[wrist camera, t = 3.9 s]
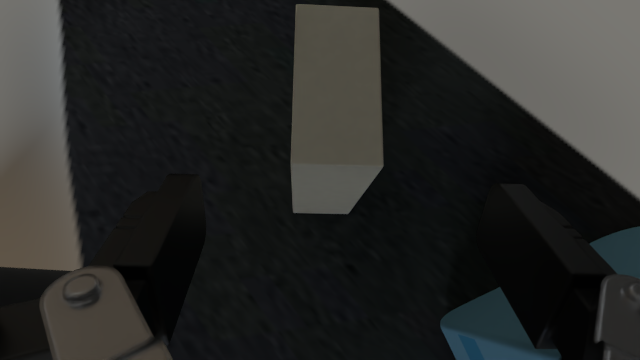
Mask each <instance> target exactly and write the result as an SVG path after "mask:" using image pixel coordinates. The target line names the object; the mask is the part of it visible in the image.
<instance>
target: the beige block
mask: <svg viewBox="0 0 640 360" xmlns="http://www.w3.org/2000/svg"><path fill="white" fill-rule="evenodd" d="M383 166H384V164H383V130H382V96H381V62H380V29H379V9H378V8H366V7H346V6H326V5H306V4H297V5H296V16H295V47H294V78H293V109H292V140H291V180H292V202H293V213H321V214H348V213H349V212H350V211H351V209H352V208H353V207H354V205H355V204H356V203H357V201H358V200H359V199H360V197H361V196H362V195H363V193H364V192H365V191H366V189H367V188H368V187H369V185H370V184H371V183H372V181H373V180H374V178H375V177H376V176H377V174H378V173H379V172H380V170H381V169H382V168H383Z"/></svg>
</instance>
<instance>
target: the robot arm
mask: <svg viewBox="0 0 640 360" xmlns="http://www.w3.org/2000/svg"><path fill="white" fill-rule="evenodd" d="M205 235H206V220H205V211H204V203H203V195H202V186H201V180H200V177H199V175H197V174H169V175H168V176H167V177H166V179H165V180H164V182H163V184H162V185H161V187H160V189H159V190H158V192H146V193H145V194H144V195H142V196H141V197H139V198H138V199H136V200H135V201H133V202H132V203H131V205H130V206H129V208H128V209H127V211H126V212H125V214H124V215H123V218H121V219H120V221H119V222H118V224H117V225H116V229H114V230H113V231H112V232H111V234H110V235H109V237H108V238H107V240H106V241H105V243H104V244H103V246H102V247H101V249H100V250H99V251H98V253H97V254H96V256H95V257H94V259H93V260H92V262H91V263H90V265H89V266H88V267H84V268H80V269H77V270H74V271H72V272H69V273H67V274H65V275H63V276H62V277H60V278H59V279H57V280H56V281H54V282H53V283H52V284H51V285H50V286H49V287H48V288H47V289H46V290H45V291H44V293H43V294H42V296H41V298H39V299H35V300H30V301H25V302H21V303H16V304H11V305H7V306H2V307H0V360H173V359H172V357H171V355H170V353H169V351H168V349H167V348H166V346H165V345H169V343H170V340H171V337H172V334H173V331H174V329H175V326H176V323H177V320H178V317H179V314H180V311H181V308H182V306H183V303H184V300H185V297H186V294H187V291H188V288H189V285H190V283H191V280H192V277H193V274H194V271H195V268H196V265H197V262H198V260H199V257H200V254H201V251H202V248H203V245H204V241H205ZM477 245H478V248H479V251H480V253H481V254H482V256H483V258H484V260H485V261H486V263H487V265H488V267H489V268H490V270H491V272H492V274H493V275H494V277H495V279H496V281H497V282H498V284H499V286H500V288H501V290H502V291H503V293H504V295H505V297H506V298H507V300H508V302H509V304H510V305H511V307H512V309H513V311H514V312H515V314H516V316H517V318H518V319H519V321H520V323H521V325H522V326H523V328H524V330H525V332H526V333H527V335H528V337H529V339H530V340H531V342H532V344H533V346H534V348H535V349H558V351H559V353H560V354H561V356H560V358H559V360H640V279H639V278H636V277H633V276H629V275H622V274H617V273H616V272H615V270H614V269H613V268H612V267H611V266H610V265H609V264H608V263H607V262H606V261H605V260H604V259H603V258H602V257H601V256H600V255H599V254H598V253H597V252H596V251H595V249H594V248H593V247H592V246H591V245H590V244H589V243H588V242H587V241H586V240H583V239H582V236H581V235H580V234H579V233H578V232H577V231H576V230H575V229H572V225H571V224H570V223H569V222H568V221H567V220H566V219H565V218H564V217H563V216H562V215H561V214H560V213H559V212H557V211H555V210H554V209H552V208H551V207H549V206H547V205H546V204H544V203H543V202H540V201H539V200H538V198H537V197H536V196H535V195H534V194H533V193H532V192H531V191H530V190H529V189H528V188H527V187H526V186H525V185H523V184H494V185H492V187H491V188H490V190H489V193H488V196H487V199H486V203H485V206H484V209H483V212H482V216H481V219H480V222H479V225H478V229H477Z"/></svg>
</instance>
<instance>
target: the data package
mask: <svg viewBox="0 0 640 360" xmlns="http://www.w3.org/2000/svg"><path fill="white" fill-rule="evenodd" d="M589 244H590V245H591V246H592V247H593V248H594V249H595V251H596V252H597V253H598V254H599V255H600V256H601V257H602V258H603V259H604V260H605V261H606V262H607V263H608V264H609V265H610V266H611V267H612V268H613V269H614V270H615V272H616V273H617V274H622V275H629V276H633V277H636V278H639V279H640V226H639V227H634V228H630V229H626V230H622V231H619V232H616V233H613V234H610V235H607V236H605V237H602V238H600V239H598V240H596V241H593V242H591V243H589ZM440 326H441V329H442V331H443V333H444V335H445V337H446V339H447V342H448V344H449V346H450V348H451V350H452V352H453V354H454V356H455V358H456V360H559V358H560V356H561V354H560V353H559V351H558V349H535V348H534V346H533V344H532V342H531V340H530V339H529V337H528V335H527V333H526V332H525V330H524V328H523V326H522V325H521V323H520V321H519V319H518V318H517V316H516V314H515V312H514V311H513V309H512V307H511V305H510V304H509V302H508V300H507V298H506V297H505V295H504V293H503V291H502V290H501V288H500V287H499V288H497V289H495V290H493V291H490V292H488V293H486V294H484V295H482V296H480V297H478V298H476V299H474V300H472V301H470V302H468V303H466V304H464V305H462V306H460V307H458V308H456V309H454V310H452V311H450V312H449V313H448V314H446V315H445V316H444V317H443V318H442V320H441V322H440Z"/></svg>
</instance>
